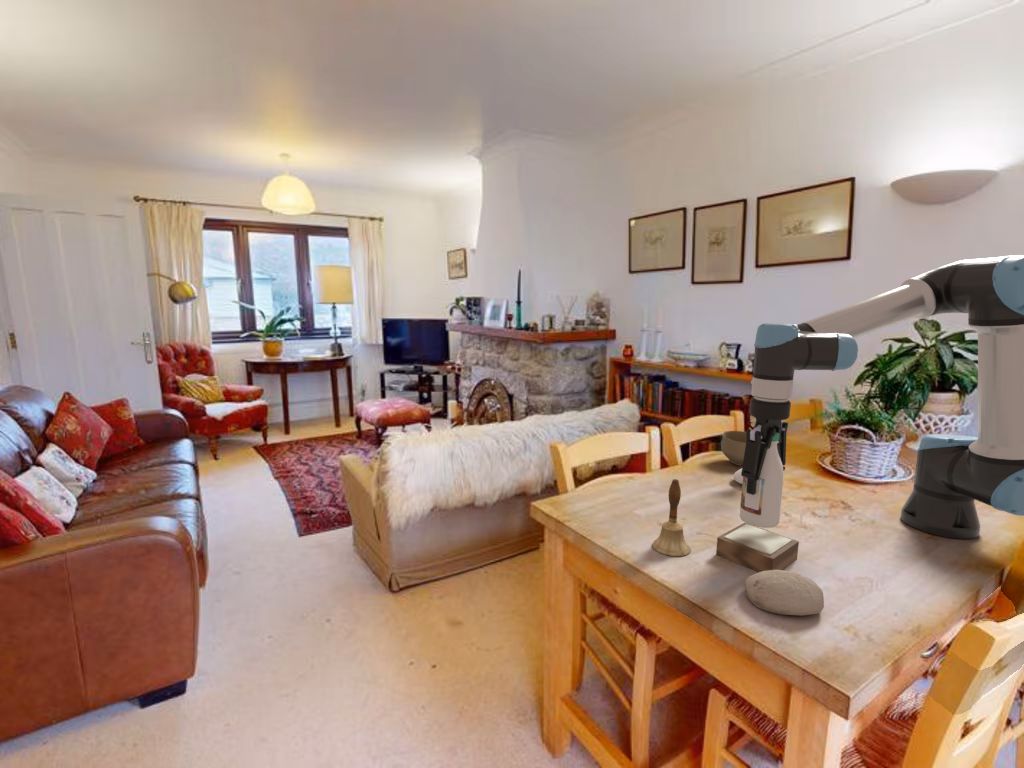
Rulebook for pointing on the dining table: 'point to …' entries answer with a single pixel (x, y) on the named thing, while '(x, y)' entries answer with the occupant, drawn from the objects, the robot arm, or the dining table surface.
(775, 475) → the milk bottle
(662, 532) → the hand bell
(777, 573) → the stone
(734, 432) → the bowl
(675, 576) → the dining table surface
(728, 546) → the plinth
